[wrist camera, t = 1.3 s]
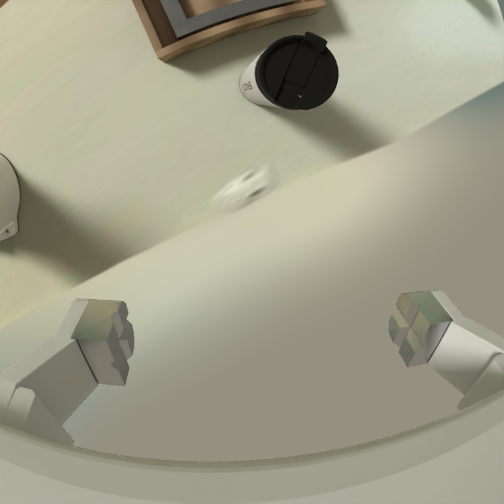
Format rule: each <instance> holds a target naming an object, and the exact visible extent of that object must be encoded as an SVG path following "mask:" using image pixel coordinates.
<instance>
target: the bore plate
mask: <svg viewBox="0 0 504 504" xmlns="http://www.w3.org/2000/svg"><path fill="white" fill-rule="evenodd" d="M160 1H161V3H162V5H163V8H164V10H165V12H166V14H167V16H168V18H169V21H170V23H171V25H172V27H173V29H174V31H175V34H176V36H177V38H178V39H179V40H182V39H184V38H186V37H189V36H191V35H194V34H196V33H199V32H201V31H204V30H207V29H209V28H212V27H215V26H218V25H220V24H223V23H226V22H229V21H232V20H235V19H239V18H242V17H245V16H248V15H252V14H255V13H259V12H263V11H267V10H270V9H275V8H279V7H283V6H287V5H292V4H293V3H294V2H295V1H296V0H242V1H238V2H235V3H232V4H228V5H225V6H222V7H219V8H216V9H213V10H210V11H208V12H205V13H202V14H199V15H197V16H194V17H192V18H189V19H186V17H185V15H184V12H183V10H182V8H181V6H180V4H179V2H178V0H160Z"/></svg>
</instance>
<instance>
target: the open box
mask: <svg viewBox="0 0 504 504" xmlns="http://www.w3.org/2000/svg"><path fill="white" fill-rule="evenodd" d="M132 1H133V3H134V6H135V8H136V10H137V12H138V15H139V17H140V19H141V21H142V24H143V26H144V28H145V30H146V32H147V35H148V37H149V39H150V41H151V44H152V46H153V48H154V50H155V53H156V55H157V57H158V59H160V60H161V61H163V62H164V63H166V62H168V61H170V60H172V59H174V58H177V57H179V56H181V55H183V54H186V53H188V52H190V51H193V50H195V49H198V48H200V47H203V46H205V45H208V44H210V43H213V42H216V41H218V40H221V39H224V38H227V37H230V36H233V35H236V34H239V33H242V32H245V31H248V30H251V29H255V28H258V27H261V26H265V25H269V24H272V23H276V22H280V21H284V20H288V19H293V18H297V17H302V16H306V15H312V14H315V13H317V12H318V11H319V10H321V9H322V8H324V7H325V6H326V2H325V0H296V1H295V2H294V3H293V4H292V5H287V6H283V7H279V8H275V9H270V10H267V11H263V12H259V13H255V14H252V15H248V16H245V17H242V18H239V19H235V20H232V21H229V22H226V23H223V24H220V25H218V26H215V27H212V28H209V29H207V30H204V31H201V32H199V33H196V34H194V35H191V36H189V37H186V38H184V39H182V40H179V39H178V38H177V36H176V34H175V31H174V29H173V27H172V25H171V23H170V21H169V18H168V16H167V14H166V12H165V10H164V8H163V5H162V3H161V1H160V0H132ZM238 1H242V0H178V2H179V4H180V6H181V8H182V10H183V12H184V15H185V17H186V19H189V18H192V17H194V16H197V15H199V14H202V13H205V12H208V11H210V10H213V9H216V8H219V7H222V6H225V5H228V4H232V3H235V2H238Z"/></svg>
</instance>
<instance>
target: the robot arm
mask: <svg viewBox="0 0 504 504" xmlns="http://www.w3.org/2000/svg"><path fill="white" fill-rule="evenodd" d="M19 202H20V192H19V185H18V181H17V177H16V174H15V172H14V170H13V168H12V166H11V165H10V163H9V162H8V161H7V159H6V158H5V157H3V156H2V155H1V154H0V241H1V240H4V239H6V238H9V237H11V236H13V235H15V234H16V233H17V232H18V223H17V213H18V208H19ZM396 305H397V307H398V309H397V310H396V311H395V312H394V313H393V314H392V315H391V318H390V321H389V333H390V337H391V339H392V341H393V342H394V343H395V344H397V345H398V346H400V350H399V353H400V355H401V357H402V359H403V360H404V362H405V364H406V366H407V367H411V366H416V365H421V364H425V363H428V364H427V365H429V366H430V367H431V368H432V369H434V370H435V371H436V372H437V373H439V374H440V375H441V376H442V377H443V378H445V379H446V380H447V381H448V382H449V383H451V384H452V385H453V386H454V387H456V388H457V389H458V390H459V391H460V392H461V393H463V394H464V395H465V396H464V397H463V398H462V400H461V401H460V402H459V403H458V406H457V407H458V409H459V411H458V412H455V413H453V414H451V415H448V416H446V417H443V418H441V419H438V420H436V421H433V422H430V423H428V424H425V425H423V426H419V427H416V428H414V429H411V430H408V431H404V432H401V433H398V434H395V435H392V436H388V437H385V438H382V439H377V440H374V441H370V442H366V443H362V444H358V445H354V446H350V447H345V448H340V449H335V450H330V451H325V452H319V453H313V454H307V455H299V456H292V457H284V458H275V459H264V460H249V461H226V462H197V461H195V462H194V461H173V460H159V459H148V458H139V457H131V456H124V455H116V454H111V453H105V452H99V451H94V450H89V449H84V448H80V447H75V446H73V444H74V440H73V438H72V437H71V435H70V434H69V433H68V432H67V431H66V430H65V429H64V428H63V427H62V425H63V423H64V422H65V421H66V420H67V419H68V418H69V417H70V416H71V414H72V413H73V412H74V411H75V410H76V409H77V408H78V407H79V406H80V405H81V404H82V402H83V401H84V400H85V399H86V398H87V397H88V396H89V395H90V394H91V393H92V391H93V390H94V389H95V388H96V387H97V386H98V384H107V385H119V386H125V384H126V380H127V376H128V371H129V365H128V362H127V360H128V359H129V358H130V357H131V356H132V354H133V350H134V332H133V327H132V324H131V323H130V322H129V321H127V320H126V319H127V316H128V309H127V306H126V303H124V302H123V301H112V300H95V299H92V300H91V299H76V300H74V301H73V303H72V305H71V306H70V308H69V310H68V312H67V314H66V316H65V318H64V320H63V322H62V324H61V326H60V327H59V329H58V331H57V334H56V336H55V337H49V338H48V339H46V340H45V341H43V342H42V343H40V344H39V345H38V346H36V347H35V348H34V349H32V350H31V351H29V352H28V353H26V354H25V355H24V356H22V357H21V358H20V359H18V360H17V361H15V362H14V363H13V364H11V365H10V366H9V367H7V368H6V369H5V370H3V371H2V372H0V504H504V338H502V337H501V336H499V335H497V334H495V333H494V332H492V331H490V330H488V329H487V328H485V327H483V326H481V325H479V324H478V323H476V322H474V321H472V320H470V319H469V318H466V319H465V318H464V317H463V316H462V314H461V313H460V312H459V311H458V309H457V308H456V307H455V306H454V305H453V303H452V302H451V301H450V300H449V299H448V297H447V296H446V295H445V294H444V293H443V292H442V291H441V290H439V289H434V290H427V291H420V292H410V293H402V294H401V295H400V296H399V298H398V300H397V303H396Z"/></svg>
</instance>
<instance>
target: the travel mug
mask: <svg viewBox="0 0 504 504" xmlns="http://www.w3.org/2000/svg"><path fill="white" fill-rule="evenodd" d="M326 44H327V41H326V40H325V39H323V38H321V37H319V36H317V35H315V34H313V33H310V32H306V33H305V36H302V35H292V36H287V37H284V38H281V39H279V40H277V41H275V42H274V43H273V44H271V45H270V46H269V47H268V48H266V49H265V50H264V51H263V52H262V53H261V54H260V55H259V56H258V57H257V58H256V59H255V60H254V61H253V62H252V63H251V64H250V65H249V66H248V67H247V68H246V69H245V70H244V71H243V72H242V74H241V76H240V80H239V86H240V90H241V92H242V94H243V96H244V97H245V98H246V99H247V100H249V101H250V102H252V103H254V104H258V105H264V106H270V107H276V108H282V109H290V110H299V109H302V110H308V109H312V108H315V107H317V106H319V105H321V104H323V103H324V102H325V101H327V100H328V99H329V98H330V96H331V95H332V94H333V92H334V90H335V88H336V86H337V83H338V76H339V74H338V66H337V62H336V60H335V58H334V56H333V54H332V53H331V51H330V50H329V49H328V48H327V47H326Z"/></svg>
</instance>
